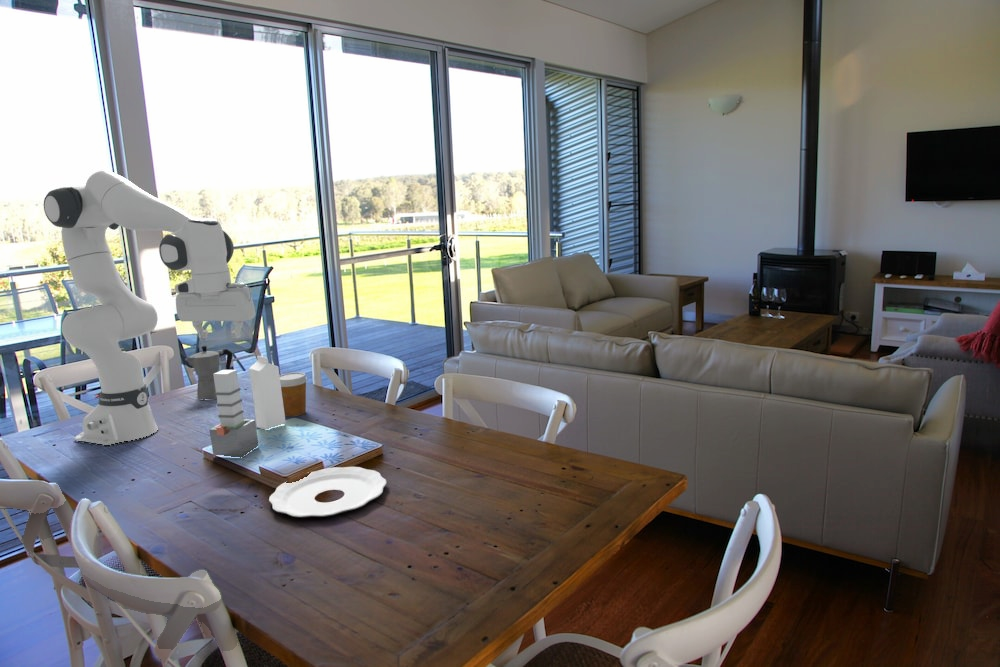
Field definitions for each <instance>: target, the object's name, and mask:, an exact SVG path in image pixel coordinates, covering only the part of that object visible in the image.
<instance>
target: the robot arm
mask: <svg viewBox="0 0 1000 667" xmlns="http://www.w3.org/2000/svg"><path fill="white" fill-rule="evenodd" d="M43 210H44V213H45V216H46V218H47V219H48V221H49V222H50V223H51V224H52V225H53V226H54V227H57V228H61V231H60V232H61V240H62V246H63V251H64V255H65V259H66V261H67V265H68V267H69V270H70V274H71V276H72V279H73V282H74V285H75V287H76V288H77V289H78V290H79V291H80V292H82V293H85V294H87V295H91V296H93V297H94V298H96V299H97V300H98V301H99V302H100V303H101V304H100V305H97V306H90V307H84V308H82V309H79V310H76V311H73V312H70V313H68V314H67V315H66V316H64V318H63V321H62V322H61V334H62V337H64V340H65V342H67V343H68V344H69V345H71V346H72V347H73V348H76V349H78V350H80V351H82V352H83V353H84V354H86V356H88V357H89V358H90V359H91V361H92V363H93V364H94V366H95V368H96V373H97V376H98V380H99V385H100V389H101V391H100V392H98V393H96V394H94V395H93V396H94V399H98V402H97V403H98V404H97V405H96V406H95V407H94V408H93V409H92V410H91V411H90V412H88V413H87V414H86V416H85V417H84V418H83V420H82V432H80V433H78V434H77V435H76V436H75V437H74V441H75V440H81V441H86V442H91V443H97V444H103V445H102V446H104V445H110V446H112V445H111V444H114V445H116V444H115V443H118V444H120V443H119V442H122V443H125V442H124V441H128V442H132V441H131V440H133V441H136V440H135V439H137V440H140V439H139V438H141V439H144V438H147V437H149V436H152V435H153V433H154V434H156V433H157V432H158V431H157V430H159V427H158V425H157V422H156V420H155V418H154V416H153V411H152V408H151V405H150V403H149V393H148V386H147V384H146V383H145V381H144V380H145V379H144V375H143V374H144V373H143V368H142V363H141V360H140V359H139V358H138V357H137V356H136V355H134V354H132V353H127V352H123V350H122V349H121V346H120V345H119V343H120V342H121V341H126V340H131V339H135V338H139V337H141V336H143V335H146V334H148V333H150V332H152V331H154V330H155V329H156V326H157V324H158V313H157V311H156V308H155V307H154V306H153V305H152V304H151V303H150V302H149V301H147V300H144V299H143V298H140V297H139V296H137V295H136V294H135V293H134V292H132V290H130V288H128V286H127V285H126V284H125V283H124V281H123V279H122V277H121V275H120V273H119V271H118V268H117V266H116V263H115V261H114V257H113V255H112V251H111V249H110V247H109V243H108V242H107V241H108V240H107V238H106V231H107V229H108V228H109V229H111V230H112V231H116V230H117V229H118V228H119V226H120V227H123V228H124V229H127V230H131V231H159V232H160V231H163V232H169V234H166V235H165V236H163V238H162V239H161V241H160V243H159V248H158V250H159V251H158V252H159V256H160V257H159V258H160V260H161V261H162V264H164V265H165V267H167V268H168V269H169V270H171V271H174V272H175V271H176V272H183V271H190V274H191V275H190V276H191V278H190V279H186V280H184V281H183V282H179V283H178V284H175V285H174V291H175V293H176V294H177V295H176V296H175V309H176V310H175V311H176V315H177V318H178V320H180V321H181V322H192V323H191V324H192V326H193V328H194V329H195V331H196V332H197V335H198V338H199V339H200V340H201V339H208V338H209V335H208V333H209V332H208V330H205V329H204V327H203V324H204V323H203V322H233V326H234V329H233V331H231V332H230V335H231V339H241V337H242V336H241V335H242V334H241V330H242V329H243V328H242V327H244V326H243V325H244V322H247V321H250V320H253V319H254V318H255V316H256V307H255V304H254V300H253V296H252V290H251V287H249V286H248V285H247V284H245V283H243V282H239V283H233V282H232V280H231V272H230V267H229V265H228V263H229V262H230V261H231V259H232V257H233V255H234V251H235V250H234V249H235V247H234V242H233V240H232V238H231V237H230V236H229V234H228V233H227V232H226V231H225V230H224V229H223V227H222V225H221V224H220V223H221V222H220V221H219V220H217V219H215V218H211V217H202V216H201V217H194V216H192V215H191V214H189V213H187V212H185V211H184V210H182V209H180V208H178V207H176V206H174V205H172V204H171V203H168V202H166V201H163V200H162V199H159V198H157V197H155V196H153V195H151V194H149V193H148V192H147V191H144V190H143V189H142V188H140V187H138V186H137V185H136V184H135V183H133V182H131V181H130V180H129V179H127V178H125V177H124V176H121V175H120V174H117V173H115V172H112V171H110V170H99V171H96V172H94V173H92V174H91V175H90V176H89V177H88V179H87V180H86V183H85V185H84V186H74V187H72V186H67V187H59V188H56V189H53V190H50V191H48V193H47V194H46V195H45V197H44V200H43ZM151 434H152V435H151ZM146 436H147V437H146ZM143 437H144V438H143ZM91 443H90V444H91ZM97 444H96V445H97Z"/></svg>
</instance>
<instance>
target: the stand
mask: <svg viewBox="0 0 1000 667" xmlns="http://www.w3.org/2000/svg"><path fill="white" fill-rule="evenodd" d="M243 419H244V421H245V424H244V425H242V426H241V427H239V428H237V429H226V426H221V423H219V424H217V425H215V426H213V427H212V428H210V429H208V430H209V435H210V436H209V437H210V442H211V448H212V449H211V450H212V455H213V458H214V459H216V458H215V456H216V455H224V456H231V457H240V458H241V457H243V456H244V455H246V454H247V453H248V452H250V451H251V450H253V449H254V448H256V447H257V446H258V445H259V439H258V438H259V437H258V432H257V423H256V419H247V418H243ZM259 446H260V445H259Z"/></svg>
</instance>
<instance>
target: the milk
mask: <svg viewBox="0 0 1000 667" xmlns="http://www.w3.org/2000/svg"><path fill="white" fill-rule="evenodd" d="M256 359H257V361H255V363H253V364H252V365H250V367H249V368H248V371H249V372H248V373H249V378H250V386H251V393H252V400H253V408H254V414H255V422H256V428H258V429H261V430H263V429H269V428H271V427H275V426H278V425H281V424H285V423H287V422H286V415H285V413H284V406H283V398H282V391H281V383H280V375H281V374H280V368H279V366H278V365H275V364H273V363H270V362H269V359H268V357H267V356H266V357H265V356H261V355H257V356H256Z"/></svg>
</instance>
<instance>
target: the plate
mask: <svg viewBox="0 0 1000 667" xmlns="http://www.w3.org/2000/svg"><path fill="white" fill-rule="evenodd" d="M310 472H311V473H310V474H309V475H308V476H307V477H304V478H303V479H300V480H299V481H296V482H292V483H286V482H287V481H285V482H283V483H281V484H280V485H278V486H277V487H276V489H275V491H274V492H273V493H271V495H269V499H268V502H269V503H270V504H271V505H272V510H273V511H275V513H280V514H284V515H288V516H290V517H293V518H300V519H302V518H311V517H312V518H314V517H315V518H325V517H331V516H332V517H333V516H337V515H338V514H339V515H340V514H342V513H345V512H349V511H350V512H351V511H354V510H358V509H360V508H362V507H364V506H365V505H367V504H368V503H369V502H371V501H373V500H375V499H378V498H379V497H380V496H381V495H382V494H383V492H384V488H385V487H386V485H387V479H386V478H384V477H383V476H382V475H381V473H380V472H378V471H377V470H375V469H367V468H363V467H361V466H345V467H338V466H336V467H326V468H323V469H322V468H321V469H318V470H315V471H310ZM333 490H336V491H342V492H343V496H342V497H340V498H339V499H337V500H334V501H329V502H320V501H318V500H316V499H315V498H316V497H317V496H318V495H319V494H321V493H324V492H326V491H333Z"/></svg>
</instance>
